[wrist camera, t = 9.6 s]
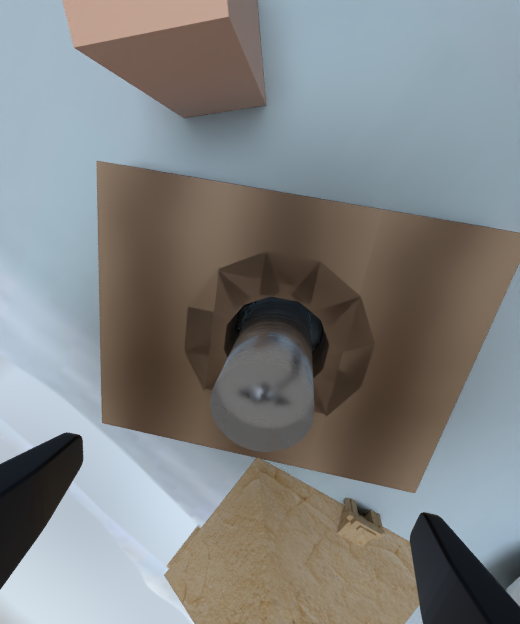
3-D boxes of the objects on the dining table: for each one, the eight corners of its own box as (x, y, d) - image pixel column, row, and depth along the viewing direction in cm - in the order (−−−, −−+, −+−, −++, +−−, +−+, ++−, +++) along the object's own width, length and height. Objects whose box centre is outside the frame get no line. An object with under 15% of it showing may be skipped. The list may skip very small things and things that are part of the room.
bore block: (490, 227, 15) (532, 234, 13) (399, 452, 20) (415, 493, 18) (131, 166, 17) (96, 160, 14) (128, 393, 22) (102, 423, 19)
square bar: (256, -4, 14) (201, -242, 6) (266, 105, 15) (228, 16, 8) (167, 15, 14) (18, -182, 7) (184, 118, 16) (73, 47, 8)
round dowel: (316, 300, 18) (325, 375, 10) (303, 357, 19) (302, 461, 12) (252, 287, 18) (215, 352, 11) (244, 345, 19) (205, 439, 12)
